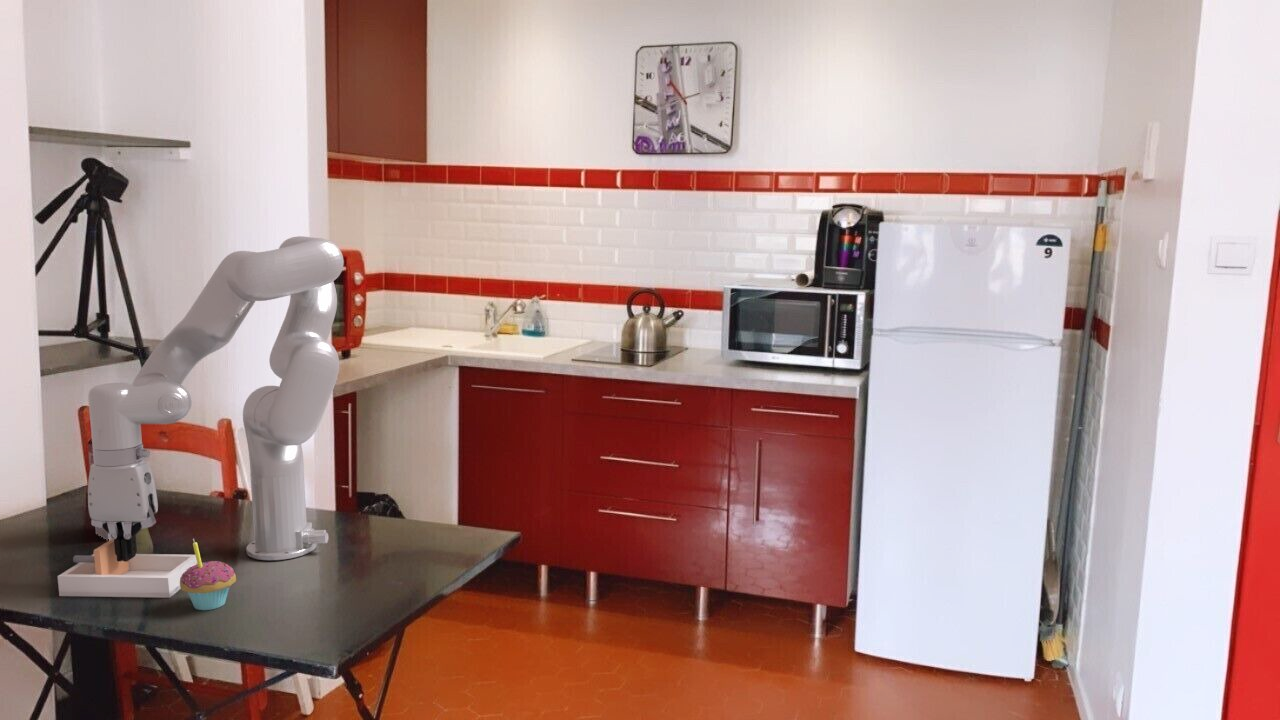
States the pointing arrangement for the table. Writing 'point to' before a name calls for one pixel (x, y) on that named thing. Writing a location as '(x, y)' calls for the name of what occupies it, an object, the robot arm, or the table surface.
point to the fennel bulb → (144, 542)
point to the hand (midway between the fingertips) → (126, 558)
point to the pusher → (105, 560)
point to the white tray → (129, 577)
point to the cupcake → (207, 582)
